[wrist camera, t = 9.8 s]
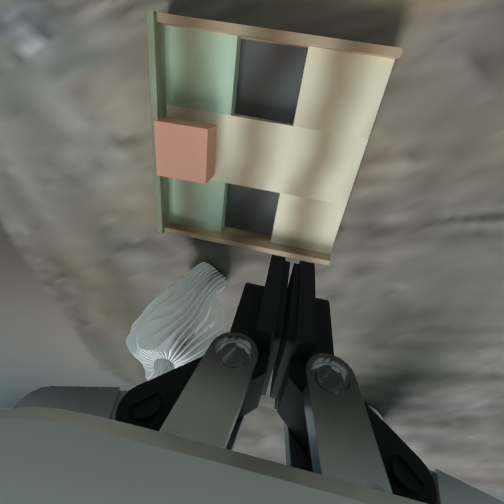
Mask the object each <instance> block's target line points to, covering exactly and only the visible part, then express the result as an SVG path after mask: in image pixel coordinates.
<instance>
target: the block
mask: <svg viewBox="0 0 504 504" xmlns="http://www.w3.org/2000/svg"><path fill="white" fill-rule="evenodd" d="M154 132H155V149H156V167H157V175H158V176H164V177H169V178H175V179H180V180H186V181H192V182H197V183H203V184H206V183H207V182H208V181H209V180H210V179H211V178H212V177H213V176H214V171H215V152H216V133H217V125H214V124H208V123H202V122H196V121H189V120H183V119H177V118H171V117H166V118H162V119H158V120H154Z"/></svg>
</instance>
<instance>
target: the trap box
mask: <svg viewBox="0 0 504 504" xmlns="http://www.w3.org/2000/svg"><path fill="white" fill-rule="evenodd" d="M146 20H147V40H148V59H149V79H150V98H151V118H152V137H153V156H154V176H155V195H156V215H157V233H160V234H163V233H164V232H167V233H172V234H177V235H182V236H187V237H191V238H196V239H201V240H206V241H211V242H216V243H221V244H226V245H231V246H236V247H241V248H245V249H250V250H255V251H260V252H265V253H270V254H275V255H280V256H285V257H290V258H295V259H299V260H304V261H309V262H314V263H319V264H324V265H330V262H331V259H330V252H331V249H332V246H333V243H334V240H335V237H336V234H337V231H338V228H339V225H340V222H341V219H342V216H343V213H344V210H345V207H346V204H347V201H348V198H349V195H350V192H351V189H352V186H353V183H354V180H355V177H356V174H357V171H358V168H359V165H360V162H361V159H362V156H363V153H364V151H365V148H366V145H367V142H368V139H369V136H370V133H371V130H372V127H373V124H374V121H375V118H376V115H377V112H378V109H379V106H380V103H381V100H382V97H383V94H384V91H385V88H386V85H387V82H388V79H389V76H390V73H391V70H392V67H393V64H394V61H395V59H398V58H400V57H401V54H402V51H403V48H399V47H392V46H385V45H378V44H371V43H364V42H358V41H351V40H344V39H337V38H330V37H323V36H316V35H310V34H303V33H296V32H289V31H282V30H275V29H268V28H262V27H255V26H248V25H241V24H234V23H227V22H221V21H214V20H207V19H200V18H193V17H186V16H179V15H173V14H166V13H159V12H155V11H152V10H146ZM166 117H171V118H177V119H183V120H189V121H196V122H202V123H208V124H214V125H217V133H216V152H215V171H214V176H213V177H212V178H211V179H210V180H209V181H208V182H207V183H206V184H203V183H197V182H192V181H186V180H180V179H175V178H169V177H164V176H158V175H157V167H156V149H155V132H154V120H158V119H162V118H166Z"/></svg>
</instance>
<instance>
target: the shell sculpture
mask: <svg viewBox="0 0 504 504" xmlns="http://www.w3.org/2000/svg"><path fill="white" fill-rule="evenodd" d="M215 270H216V268H213V266H211V265H210V264H209V263H208V264H207V263H206V262H202V263H200V264H198V265H197V266H195V267H194V268H192V269H191V270H189V271H188V272H187V274H186V275H185V276H184V277H181V278H179V279H178V281H177V282H176V283H175V284H174V285H171V286H169V287H168V289H167V290H166V291H165V292H164V293H163V294H162V295H160V296H158V297H157V298H156V299H154V300H153V301H152V302H151V303H150V304H149V305H148V306H147V307H146V308H145V310H144V311H143V313H142V315H141V316H140V317H139V318H138V319H137V320H136V321H135V322H134V323H133V324H132V326H131V332H130V333H129V335H128V336H127V339H126V345H127V348H128V349H129V351H130V352H131V354H132V355H133V356H134V357H135V358H137V359H138V360H139V361H140V362H141V363H142V364H143V367H144V369H145V370H146V372H145V378H146V379H148V381H149V380H151V379H153V378H155V377H158V374H159V376H160V375H162V374H164V373H166V372H169V371H171V370H173V369H175V368H177V367H180V366H182V365H184V364H186V363H188V362H191V361H193V360H195V359H197V358H199V357H202V356H204V354H205V353H206V351H207V349H208V347H209V346H210V344H211V342H212V341H213V340H214V339H215V338H216V337H218V336H219V335H221V334H224V333H226V316H225V313H224V311H223V308H222V306H221V304H220V301H219V294H220V293H221V291H222V290H223V289H224V288H225V287H226V286H227V282H228V280H225V278H226V277H220V276H222V275H223V274H221V275H217V274H219V273H220V272H219V273H217V274H215V273H216V272H217V271H218V270H216V271H215ZM213 274H214V275H213ZM212 275H213V276H214V277H213V276H212ZM211 276H212V277H213V278H212V277H211ZM211 278H212V279H211ZM210 279H211V280H210ZM209 280H210V281H209ZM208 281H209V282H208ZM198 301H199V302H198ZM197 303H198V304H197ZM165 360H166V362H165ZM164 363H165V365H164ZM163 366H164V368H163ZM160 368H161V369H160ZM162 369H163V371H162ZM159 371H160V373H159ZM161 373H162V374H161Z"/></svg>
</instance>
